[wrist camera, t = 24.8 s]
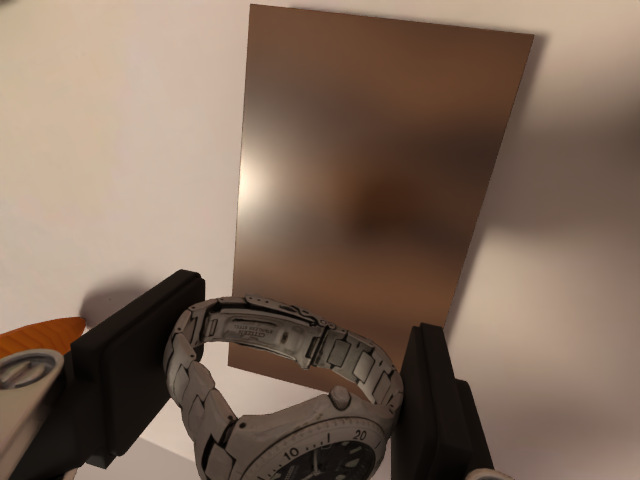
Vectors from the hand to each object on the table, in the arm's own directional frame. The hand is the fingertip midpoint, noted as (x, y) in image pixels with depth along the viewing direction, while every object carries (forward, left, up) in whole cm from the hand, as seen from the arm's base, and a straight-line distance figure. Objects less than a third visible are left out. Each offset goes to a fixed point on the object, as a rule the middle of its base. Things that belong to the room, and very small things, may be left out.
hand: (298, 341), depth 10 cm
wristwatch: (0, 0, -1) cm, 1 cm away
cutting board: (+1, 0, -11) cm, 11 cm away
